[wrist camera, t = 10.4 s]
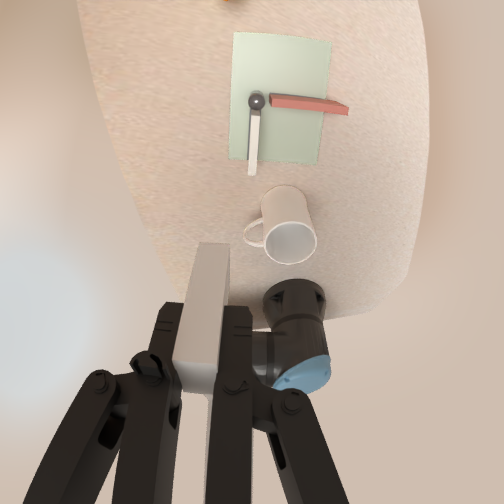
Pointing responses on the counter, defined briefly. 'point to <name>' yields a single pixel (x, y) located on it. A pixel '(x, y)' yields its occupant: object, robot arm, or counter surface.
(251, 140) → the fixed panel
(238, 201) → the counter surface
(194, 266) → the robot arm
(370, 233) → the counter surface
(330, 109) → the red panel
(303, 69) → the card
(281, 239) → the mug
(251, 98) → the post
